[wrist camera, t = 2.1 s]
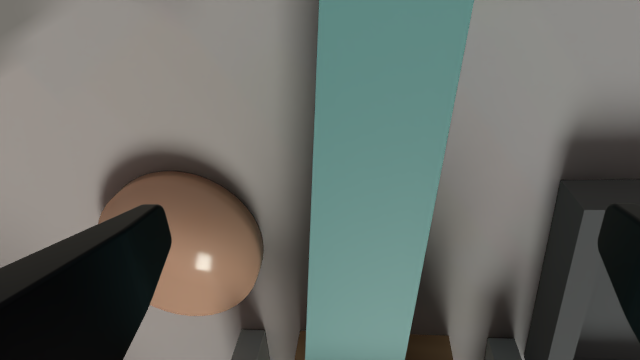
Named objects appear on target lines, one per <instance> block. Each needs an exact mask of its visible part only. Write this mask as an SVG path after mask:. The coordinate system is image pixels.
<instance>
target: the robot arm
mask: <svg viewBox="0 0 640 360" xmlns="http://www.w3.org/2000/svg"><path fill="white" fill-rule="evenodd" d="M171 244H172V237H171V232H170V229H169V225H168V221H167V217H166V214H165V211H164V208H163V207H162V206H161V205H158V204H143V205H140V206H138V207H135V208H133V209H131V210H129V211H126V212H124V213H122V214H120V215H118V216H115V217H113V218H111V219H109V220H106V221H104V222H102V223H100V224H98V225H95V226H93V227H91V228H89V229H86V230H84V231H82V232H80V233H78V234H75V235H73V236H71V237H69V238H66V239H64V240H62V241H60V242H58V243H55V244H53V245H51V246H49V247H46V248H44V249H42V250H40V251H38V252H35V253H33V254H31V255H29V256H26V257H24V258H22V259H20V260H18V261H15V262H13V263H11V264H9V265H6V266H4V267H2V268H0V360H123V358H124V356H125V354H126V352H127V350H128V348H129V346H130V344H131V342H132V340H133V338H134V336H135V334H136V332H137V330H138V328H139V326H140V324H141V322H142V320H143V318H144V316H145V314H146V312H147V310H148V307H149V305H150V303H151V300H152V298H153V295H154V292H155V290H156V287H157V284H158V281H159V279H160V276H161V273H162V270H163V268H164V265H165V262H166V259H167V257H168V254H169V251H170V248H171ZM597 244H598V251H599V253H600V256H601V258H602V261H603V263H604V266H605V268H606V271H607V273H608V276H609V278H610V281H611V283H612V286H613V288H614V291H615V293H616V296H617V298H618V300H619V303H620V305H621V308H622V310H623V312H624V315H625V317H626V319H627V321H628V323H629V325H630V327H631V329H632V331H633V332H634V334H635V336H636V338H637V340H638V341H639V343H640V205H638V204H635V203H611V204H610V205H608V207H607V208H606V210H605V213H604V217H603V221H602V225H601V228H600V232H599V236H598V242H597Z"/></svg>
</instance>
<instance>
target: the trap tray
mask: <svg viewBox="0 0 640 360" xmlns="http://www.w3.org/2000/svg"><path fill="white" fill-rule="evenodd" d="M611 203H635V204H638V205H640V180H561V181H560V186H559V191H558V196H557V201H556V206H555V210H554V215H553V220H552V225H551V230H550V235H549V240H548V244H547V249H546V254H545V259H544V264H543V269H542V273H541V278H540V283H539V288H538V293H537V298H536V302H535V307H534V312H533V317H532V322H531V327H530V331H529V336H528V341H527V346H526V351H525V356H524V358H525V360H640V343H639V341H638V340H637V338H636V336H635V334H634V332H633V331H632V329H631V327H630V325H629V323H628V321H627V319H626V317H625V315H624V312H623V310H622V308H621V305H620V303H619V300H618V298H617V296H616V293H615V291H614V288H613V286H612V283H611V281H610V278H609V276H608V273H607V271H606V268H605V266H604V263H603V261H602V258H601V256H600V253H599V251H598V244H597V242H598V236H599V232H600V228H601V225H602V221H603V217H604V213H605V210H606V208H607V207H608V205H610V204H611Z"/></svg>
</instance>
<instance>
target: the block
mask: <svg viewBox="0 0 640 360" xmlns="http://www.w3.org/2000/svg"><path fill="white" fill-rule="evenodd" d="M305 349H306V331H300V334H299V339H298V345H297V350H296V355H295V360H305ZM405 360H453V357H452V351H451V346H450V341H449V336H445V335H415V334H410V336H409V341H408V346H407V351H406V356H405Z"/></svg>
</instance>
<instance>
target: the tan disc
mask: <svg viewBox="0 0 640 360" xmlns="http://www.w3.org/2000/svg"><path fill="white" fill-rule="evenodd" d="M143 204H158V205H161V206H162V207H163V208H164V211H165V214H166V217H167V221H168V225H169V229H170V232H171V237H172V244H171V248H170V251H169V254H168V257H167V259H166V262H165V265H164V268H163V270H162V273H161V276H160V279H159V281H158V284H157V287H156V290H155V292H154V295H153V298H152V300H151V303H150V305H152V306H154V307H156V308H159V309H161V310H164V311H167V312H171V313H175V314H180V315H188V316H205V315H213V314H217V313H221V312H223V311H226V310H229V309H230V308H232V307H234V306H236V305H237V304H239V303H240V302H241V301H243V300H244V298H245V297H246V296H247V295H248V294H249V293H250V291H251V290H252V288H253V286H254V284H255V282H256V279H257V276H258V273H259V271H260V268H261V264H262V260H263V241H262V236H261V233H260V230H259V228H258V225H257V223H256V221H255V219H254V218H253V216H252V215H251V213H250V212H249V210H248V209H247V208H246V207H245V205H244V204H243V203H242V202H241V201H240V200H239V199H238V198H237V197H235V196H234V195H233V194H232V193H231V192H229V191H228V190H226V189H225V188H223V187H222V186H220V185H218V184H217V183H215V182H213V181H211V180H208V179H206V178H203V177H201V176H197V175H194V174H190V173H185V172H179V171H161V172H154V173H149V174H146V175H143V176H140V177H138V178H136V179H134V180H133V181H131V182H130V183H128V184H127V185H126V186H124V187H123V188H122V189H121V190H120V191H119V192H118V193H117V194H116V195H115V196H114V197H113V198H112V199H111V200H110V201H109V202H108V203H107V205H106V206H105V208H104V209H103V211H102V213H101V216H100V218H99V222H98V224H100V223H102V222H104V221H106V220H109V219H111V218H113V217H115V216H118V215H120V214H122V213H124V212H126V211H129V210H131V209H133V208H135V207H138V206H140V205H143Z"/></svg>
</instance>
